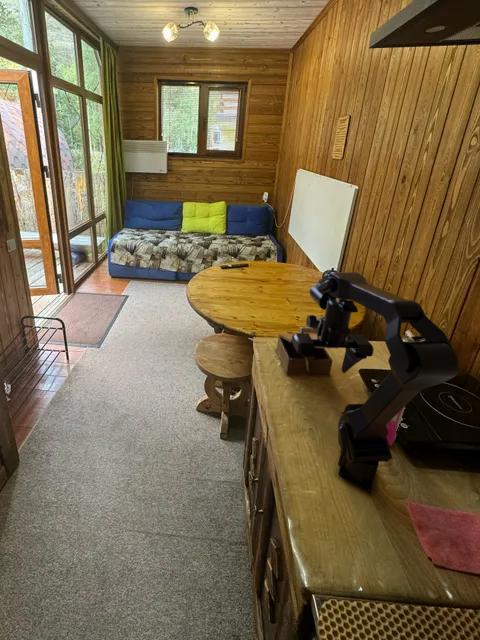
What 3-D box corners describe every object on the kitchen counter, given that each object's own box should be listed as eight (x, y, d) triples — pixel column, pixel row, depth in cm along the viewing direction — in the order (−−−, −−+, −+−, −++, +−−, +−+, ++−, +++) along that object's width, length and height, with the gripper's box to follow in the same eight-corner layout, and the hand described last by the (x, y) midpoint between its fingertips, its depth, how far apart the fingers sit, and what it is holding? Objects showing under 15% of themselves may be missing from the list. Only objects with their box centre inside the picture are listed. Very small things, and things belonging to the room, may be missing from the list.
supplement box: (372, 419, 81) (382, 384, 78) (397, 434, 77) (409, 398, 74) (364, 432, 78) (374, 396, 74) (390, 448, 74) (402, 411, 70)
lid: (335, 343, 93) (335, 329, 94) (291, 342, 93) (290, 328, 94) (317, 337, 107) (317, 324, 107) (278, 336, 107) (278, 323, 107)
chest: (329, 375, 97) (332, 360, 95) (286, 374, 97) (288, 359, 95) (314, 350, 109) (317, 336, 107) (276, 349, 109) (278, 335, 107)
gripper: (357, 305, 84) (346, 352, 89) (289, 303, 84) (282, 351, 89) (381, 327, 73) (367, 380, 78) (303, 325, 73) (294, 378, 78)
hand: (325, 371), depth 81 cm, fingers open, 9 cm apart
